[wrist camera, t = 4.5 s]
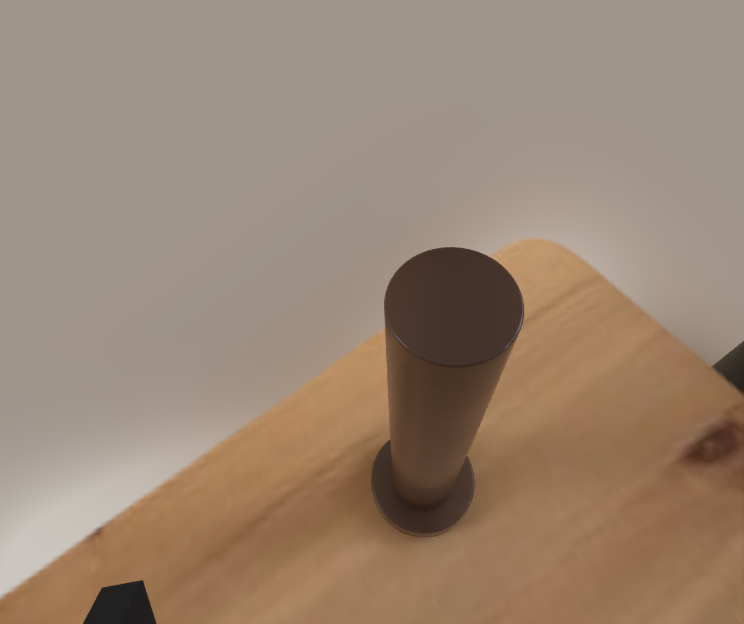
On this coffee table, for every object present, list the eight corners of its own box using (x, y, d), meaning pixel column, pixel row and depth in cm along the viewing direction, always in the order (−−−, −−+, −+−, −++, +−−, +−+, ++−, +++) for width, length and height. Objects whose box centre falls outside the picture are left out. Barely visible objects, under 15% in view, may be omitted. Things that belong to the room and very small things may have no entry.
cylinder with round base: (447, 423, 25) (508, 186, 11) (487, 515, 23) (622, 367, 9) (359, 454, 25) (308, 247, 11) (392, 552, 23) (381, 453, 9)
